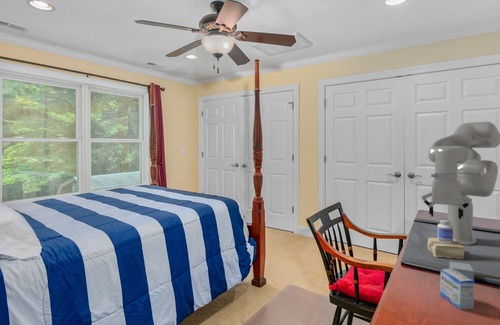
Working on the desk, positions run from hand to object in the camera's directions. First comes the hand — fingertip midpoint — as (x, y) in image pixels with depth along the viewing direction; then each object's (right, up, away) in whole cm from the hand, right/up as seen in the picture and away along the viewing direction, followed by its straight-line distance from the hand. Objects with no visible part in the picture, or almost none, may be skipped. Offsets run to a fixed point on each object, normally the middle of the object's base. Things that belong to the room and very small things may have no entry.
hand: (445, 217), depth 119 cm
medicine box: (-20, -19, -34) cm, 44 cm away
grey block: (-7, -18, -19) cm, 27 cm away
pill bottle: (0, -11, 0) cm, 11 cm away
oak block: (0, -16, +1) cm, 16 cm away
